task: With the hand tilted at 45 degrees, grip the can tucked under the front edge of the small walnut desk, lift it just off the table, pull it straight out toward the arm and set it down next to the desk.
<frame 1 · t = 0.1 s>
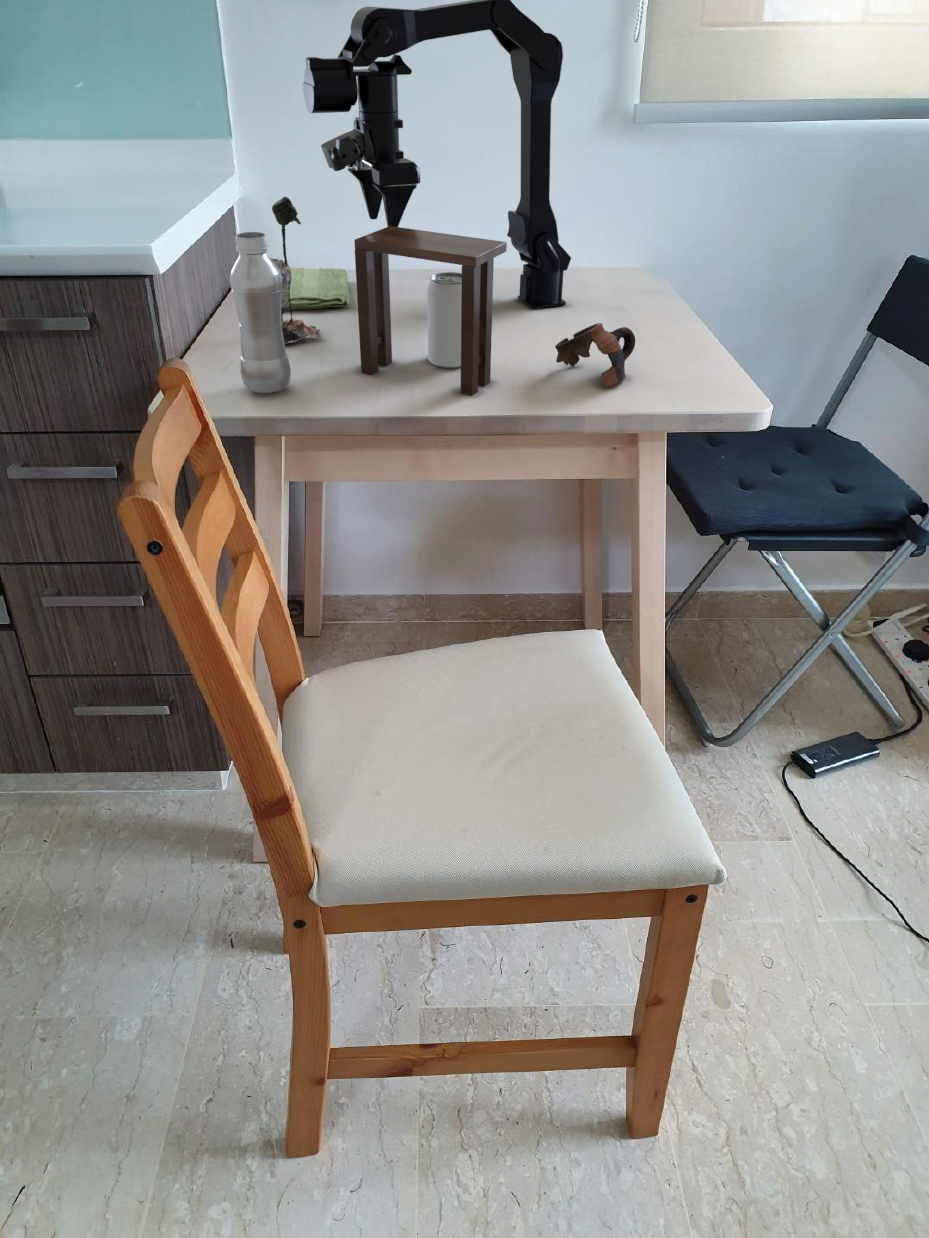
hand: (382, 225, 143), 15 cm above the table, tool pointing down, fingers open, 9 cm apart
brown jagged looped part: (596, 376, 132), on the table
desk: (431, 373, 132), on the table
can: (449, 362, 136), on the table
plastic bottle: (268, 391, 126), on the table
washcloth: (313, 297, 162), on the table
plant with pod: (284, 339, 143), on the table
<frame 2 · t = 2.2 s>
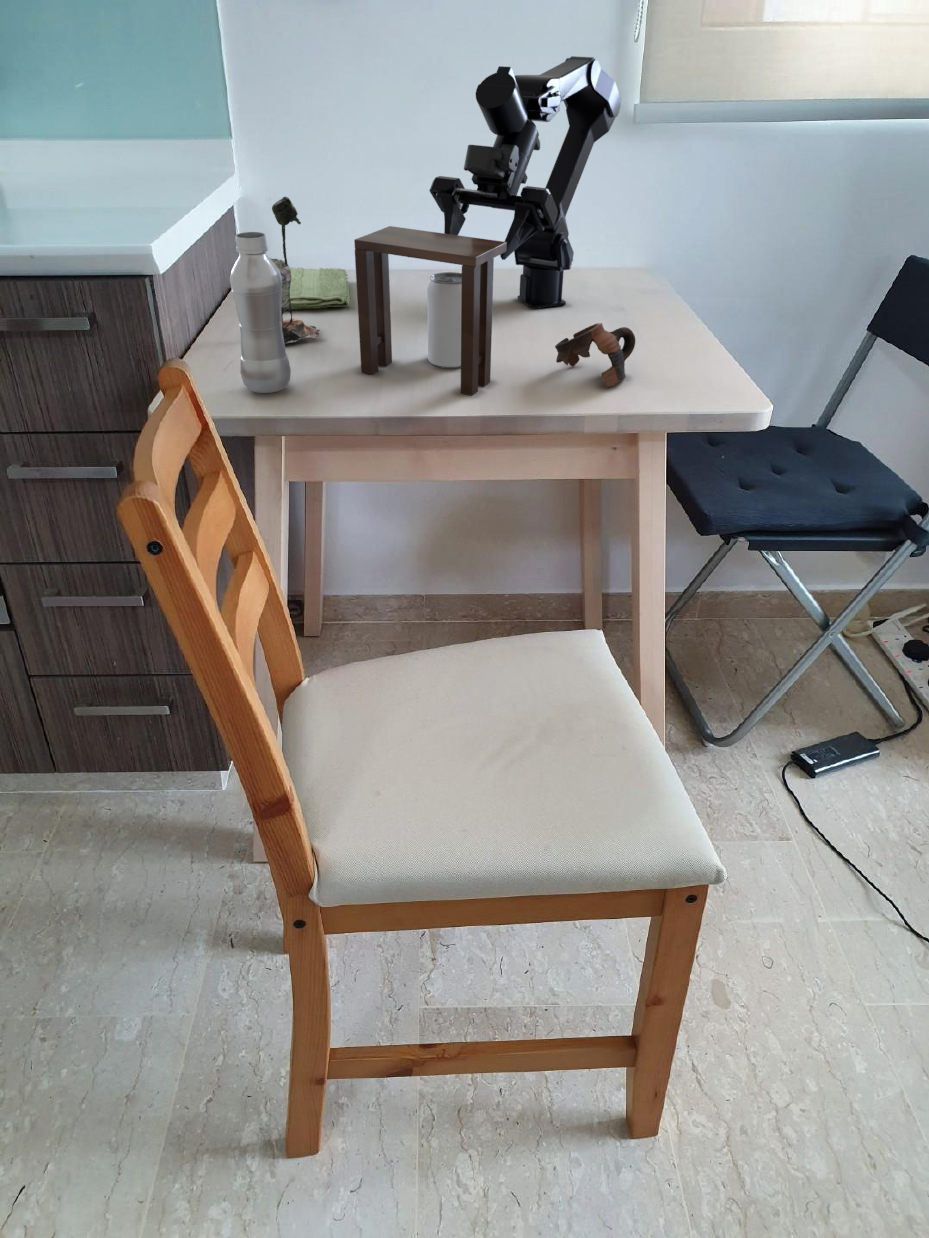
hand: (473, 254, 134), 13 cm above the table, tool tilted 45°, fingers open, 9 cm apart
nothing on the table moved.
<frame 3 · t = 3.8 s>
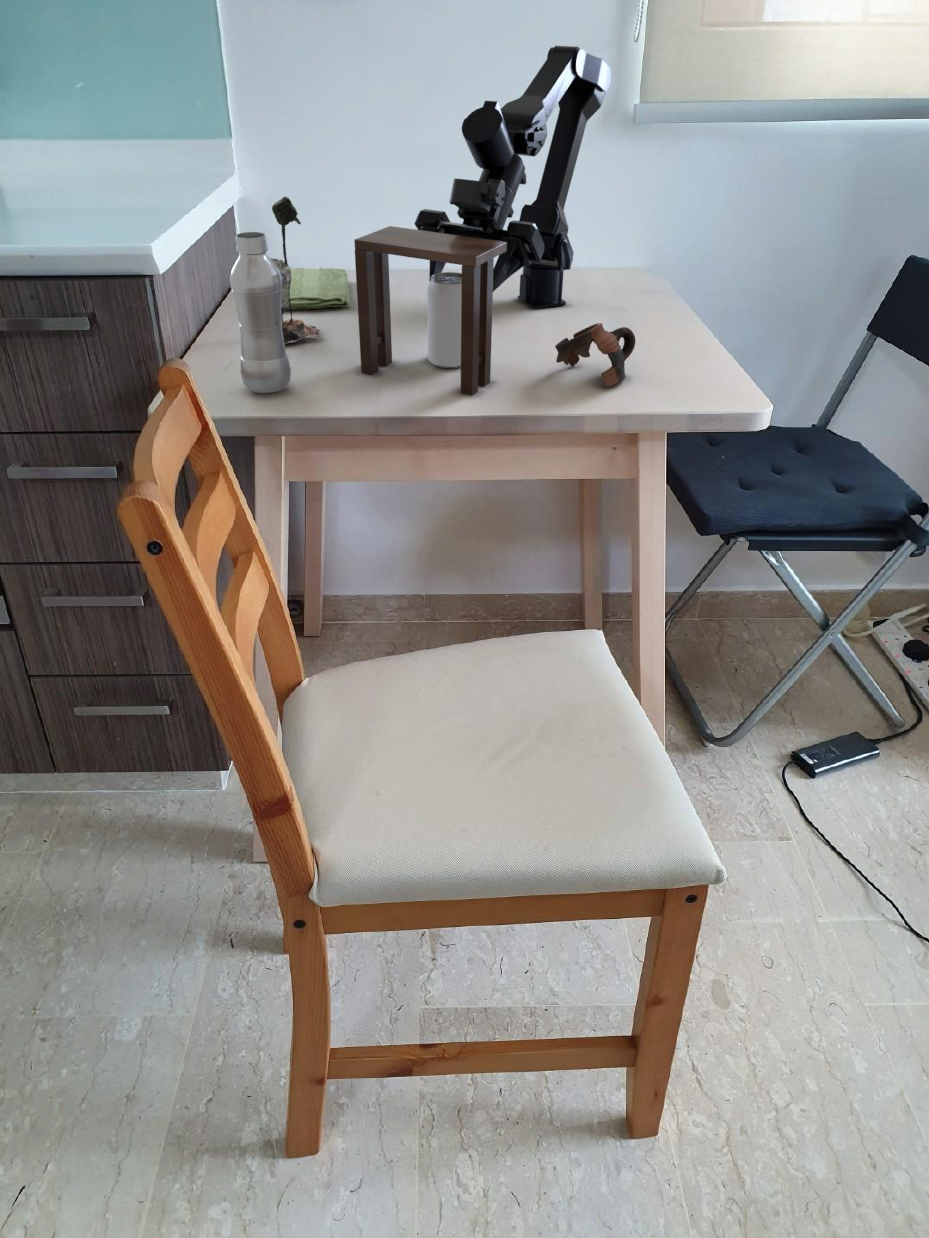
hand: (459, 287, 132), 10 cm above the table, tool tilted 45°, fingers open, 9 cm apart
nothing on the table moved.
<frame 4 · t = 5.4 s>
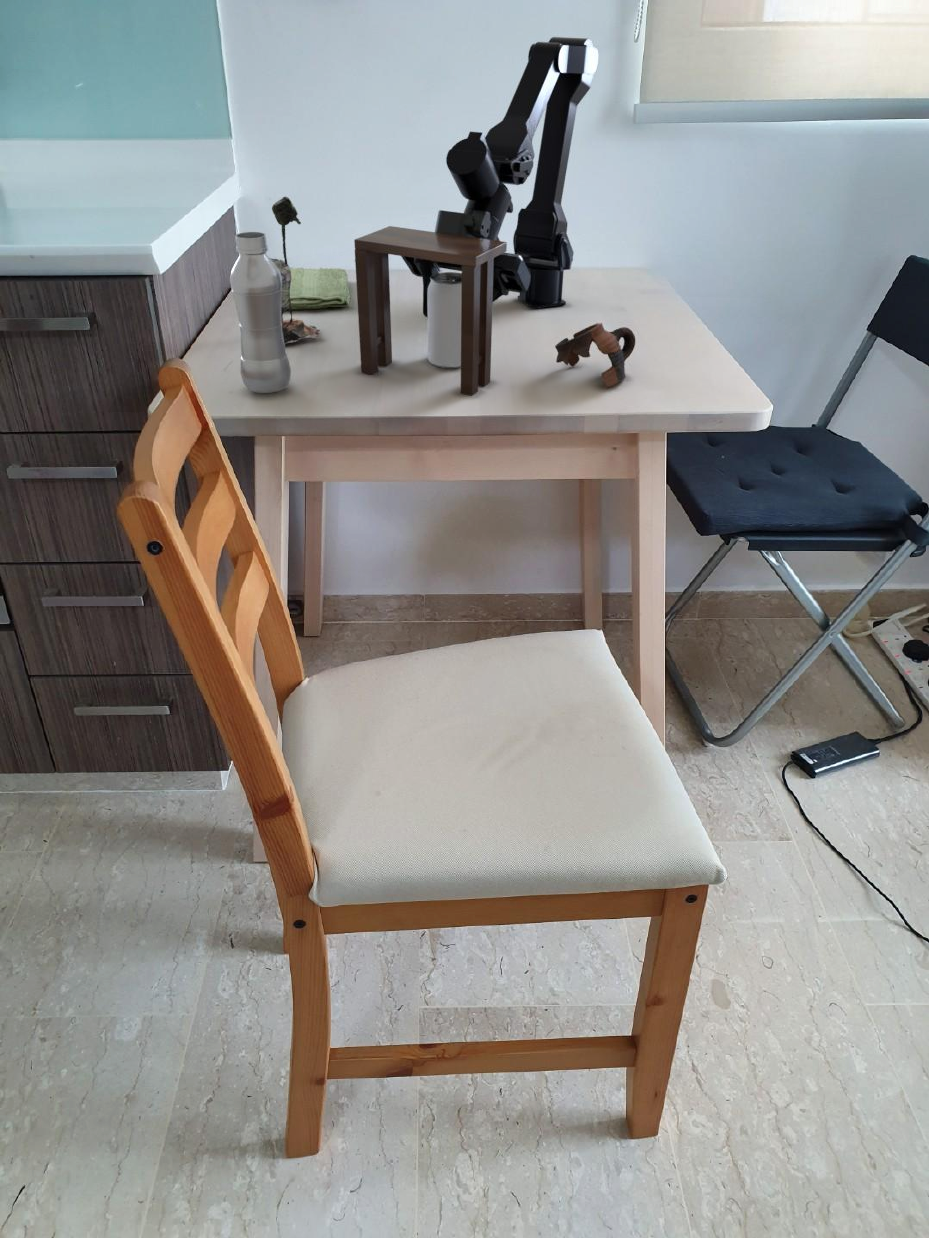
hand: (445, 319, 131), 7 cm above the table, tool tilted 45°, fingers closed on can, 6 cm apart
can: (449, 362, 136), on the table, touching gripper
everything else where it was.
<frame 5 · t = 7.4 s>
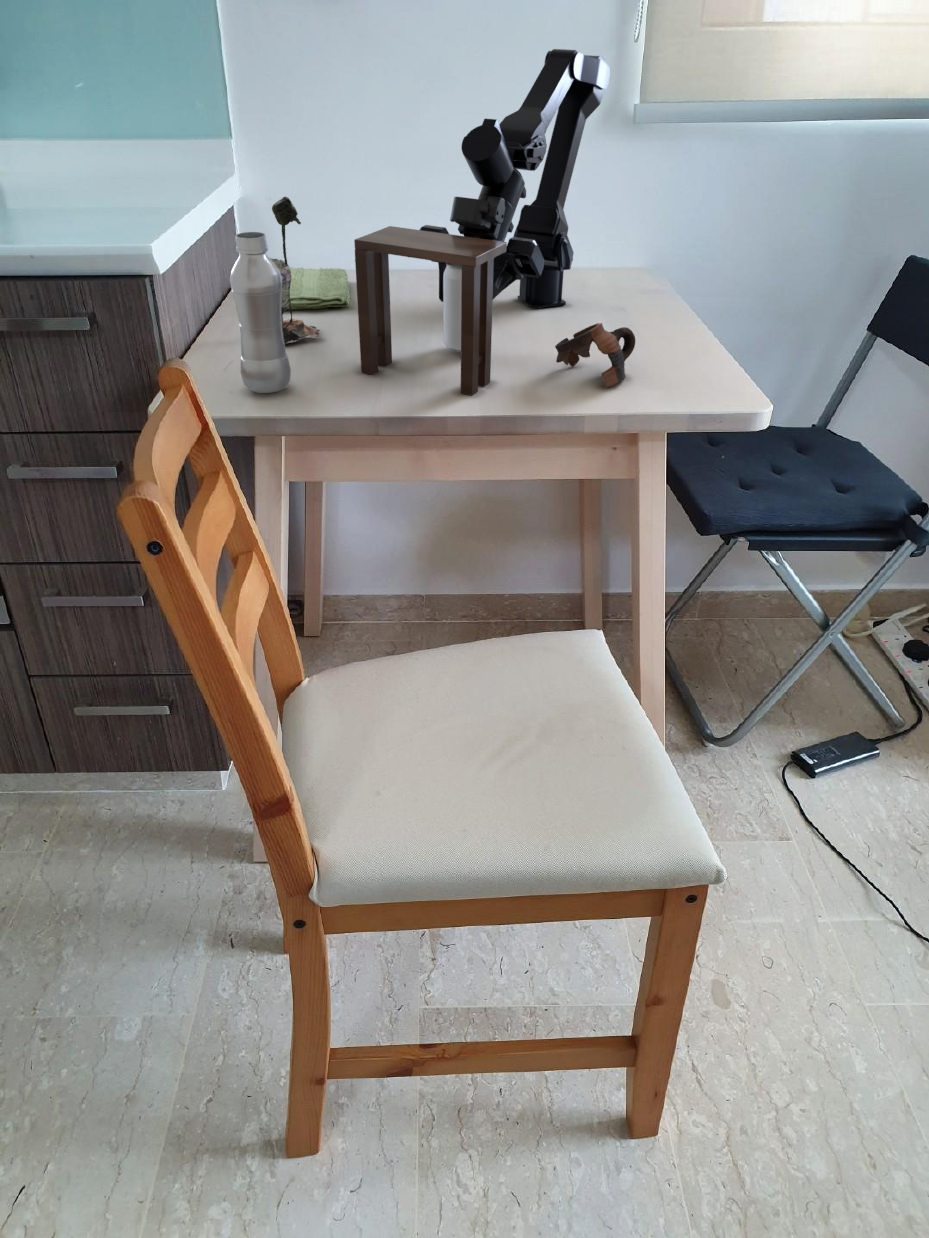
hand: (460, 303, 134), 8 cm above the table, tool tilted 45°, fingers closed on can, 6 cm apart
can: (465, 346, 139), point 1 cm above the table, touching gripper
everything else where it was.
when the fingers open (7 cm above the table, at t = 9.3 s): can stays where it is, on the table.
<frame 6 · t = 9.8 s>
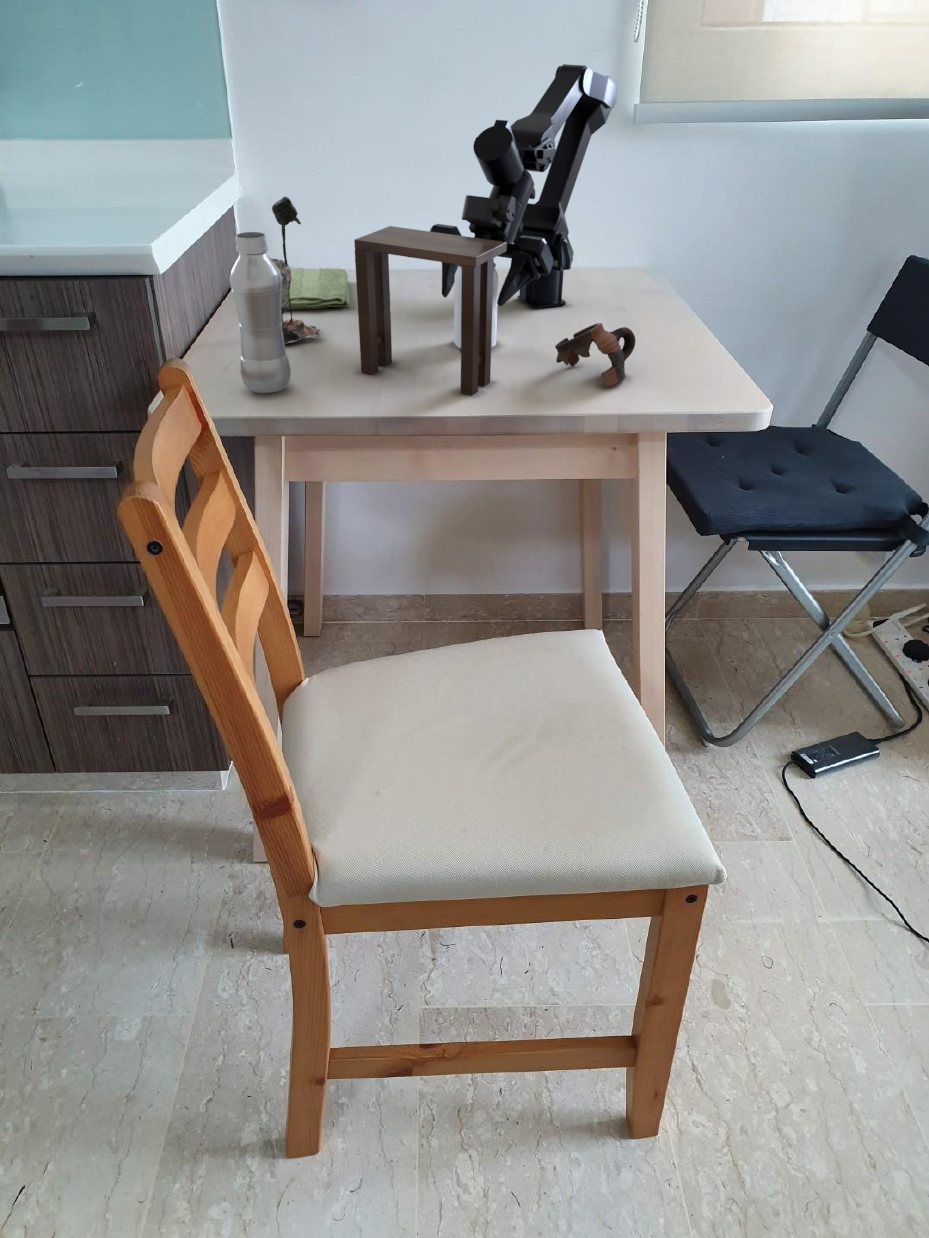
hand: (471, 300, 136), 7 cm above the table, tool tilted 45°, fingers open, 9 cm apart
can: (475, 346, 142), on the table
everything else where it was.
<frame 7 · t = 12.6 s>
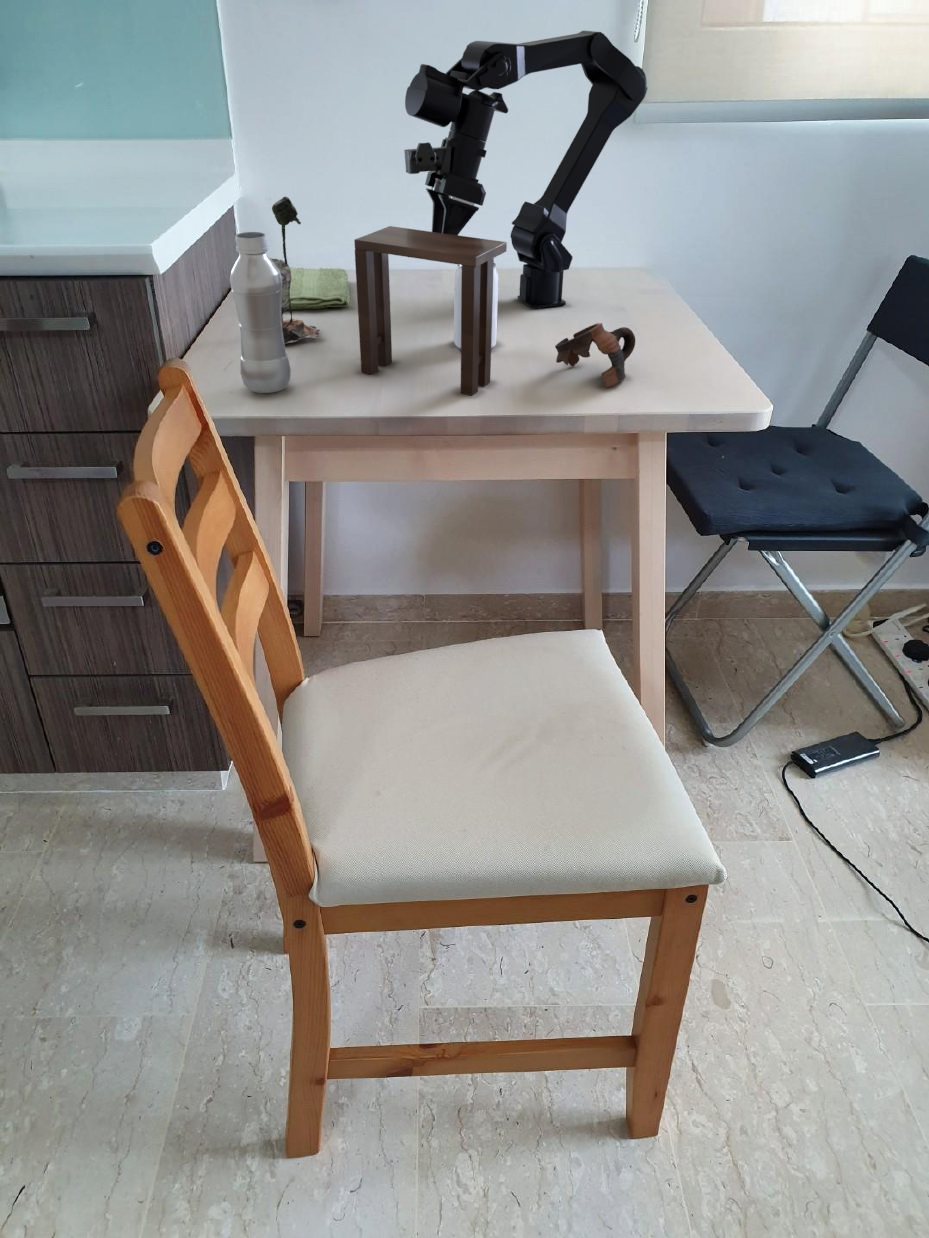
hand: (439, 244, 145), 12 cm above the table, tool tilted 20°, fingers open, 9 cm apart
nothing on the table moved.
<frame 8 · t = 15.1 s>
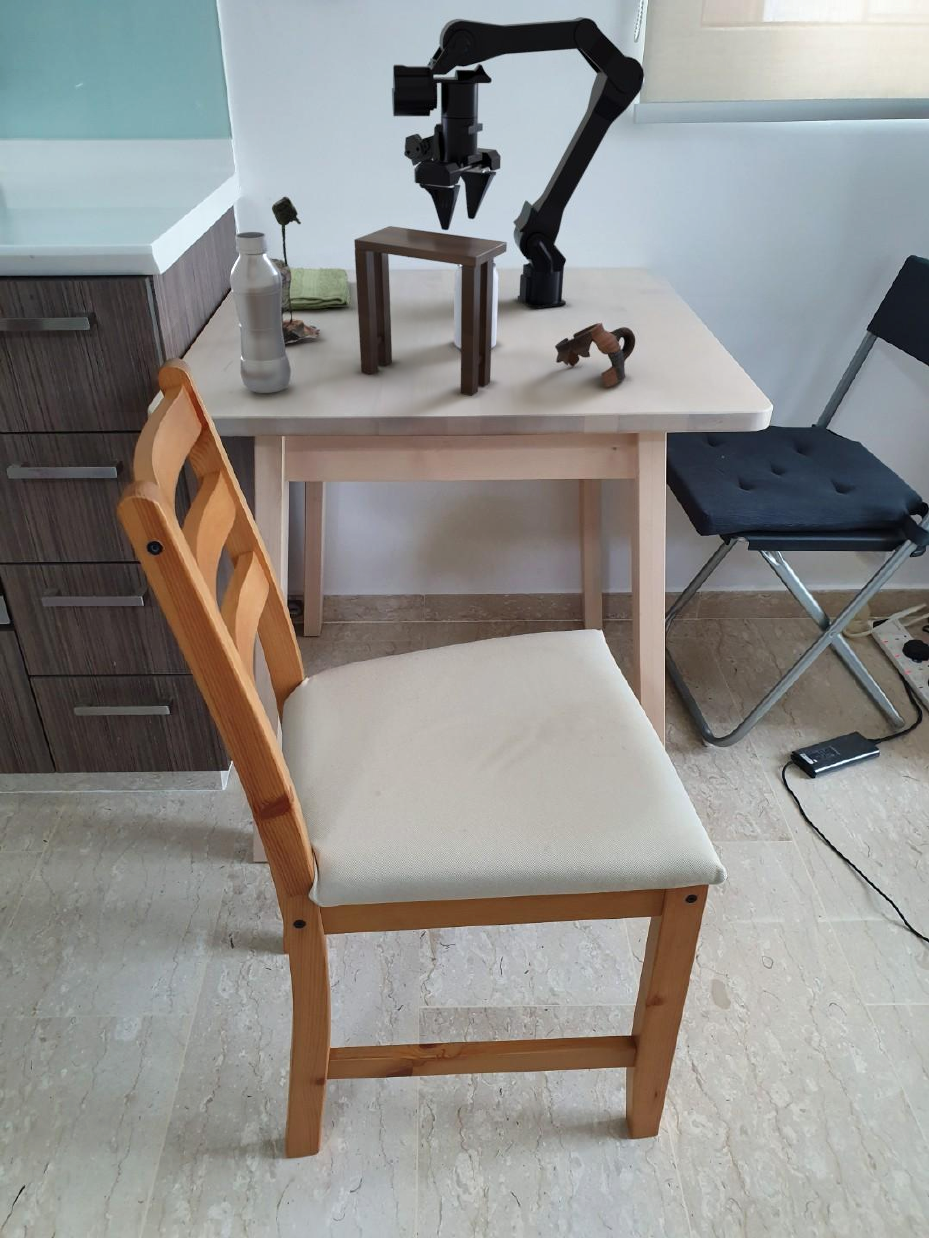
hand: (458, 224, 151), 13 cm above the table, tool pointing down, fingers open, 9 cm apart
nothing on the table moved.
at the end: can inside the target area (0.1 cm from its centre), on the table; can tilted 0°; the gripper is holding nothing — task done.
